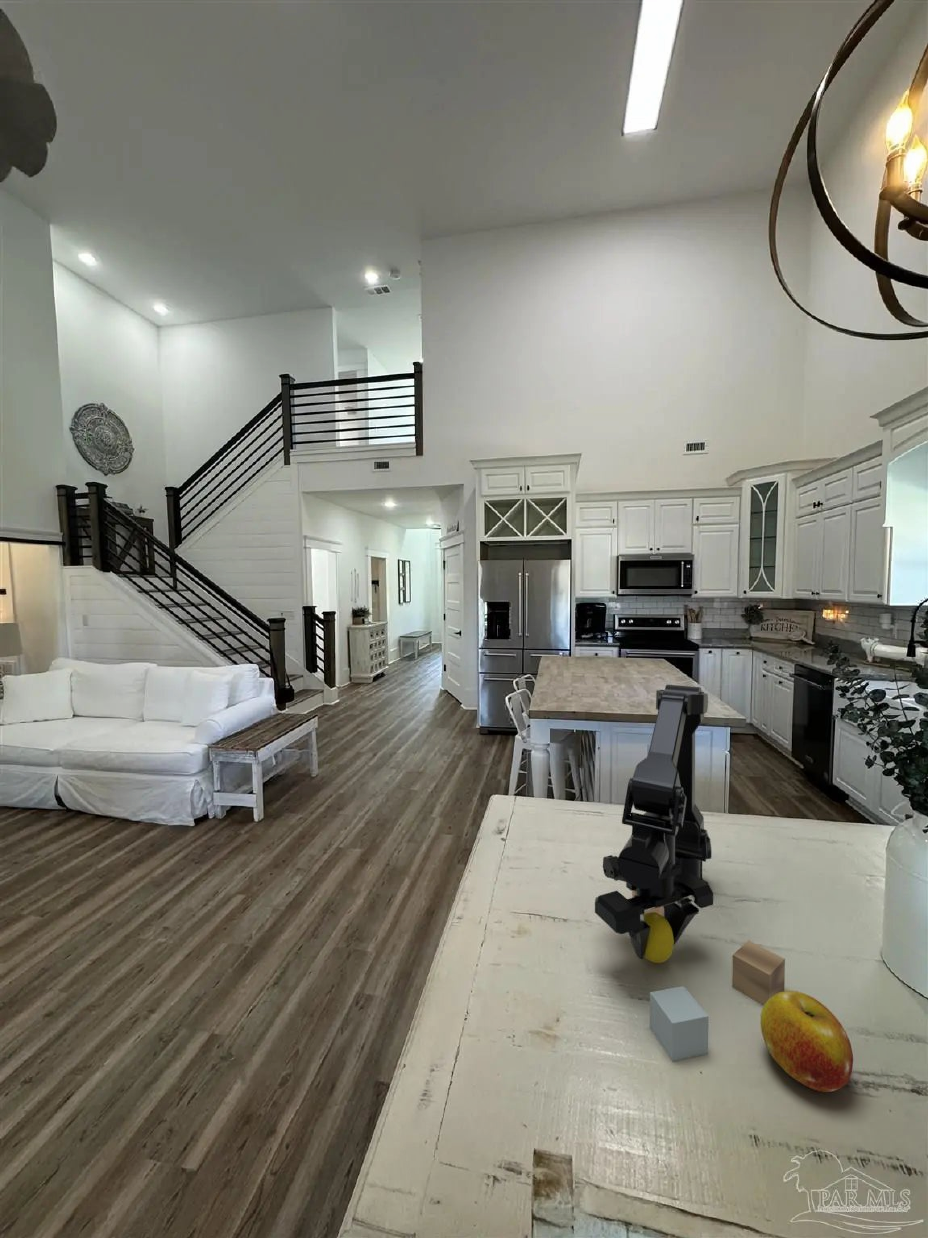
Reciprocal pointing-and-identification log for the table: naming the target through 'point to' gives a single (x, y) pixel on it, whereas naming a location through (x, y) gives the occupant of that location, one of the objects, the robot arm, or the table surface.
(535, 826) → the table surface
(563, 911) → the table surface
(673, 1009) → the slate block
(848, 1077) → the fruit
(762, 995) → the walnut block
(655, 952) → the lemon
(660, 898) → the robot arm
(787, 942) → the table surface
